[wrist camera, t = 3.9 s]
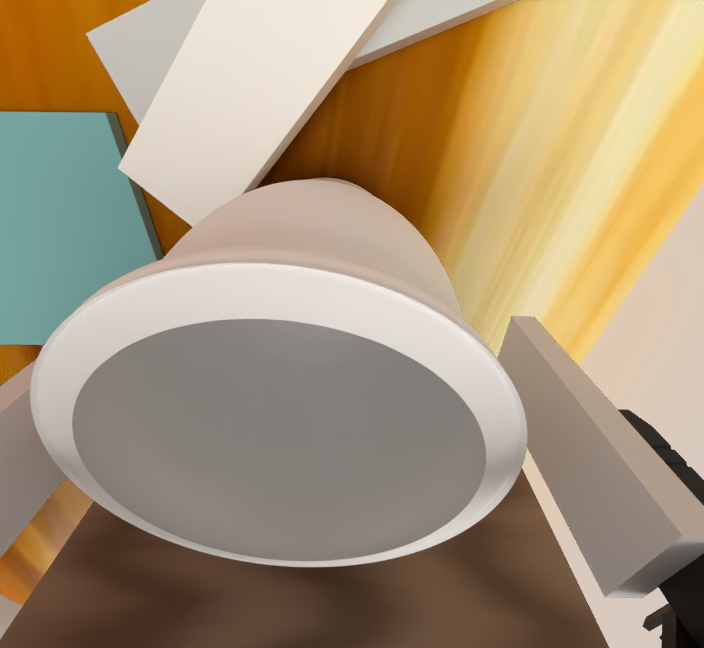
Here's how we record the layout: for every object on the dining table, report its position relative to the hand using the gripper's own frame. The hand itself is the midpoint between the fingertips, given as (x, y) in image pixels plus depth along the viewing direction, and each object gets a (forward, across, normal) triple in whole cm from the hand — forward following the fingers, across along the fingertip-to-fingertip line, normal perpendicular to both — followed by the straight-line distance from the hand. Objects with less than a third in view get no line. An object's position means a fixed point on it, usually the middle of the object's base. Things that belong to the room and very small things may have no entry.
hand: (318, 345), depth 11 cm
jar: (+10, 0, 0) cm, 10 cm away
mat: (+10, +18, 0) cm, 20 cm away
